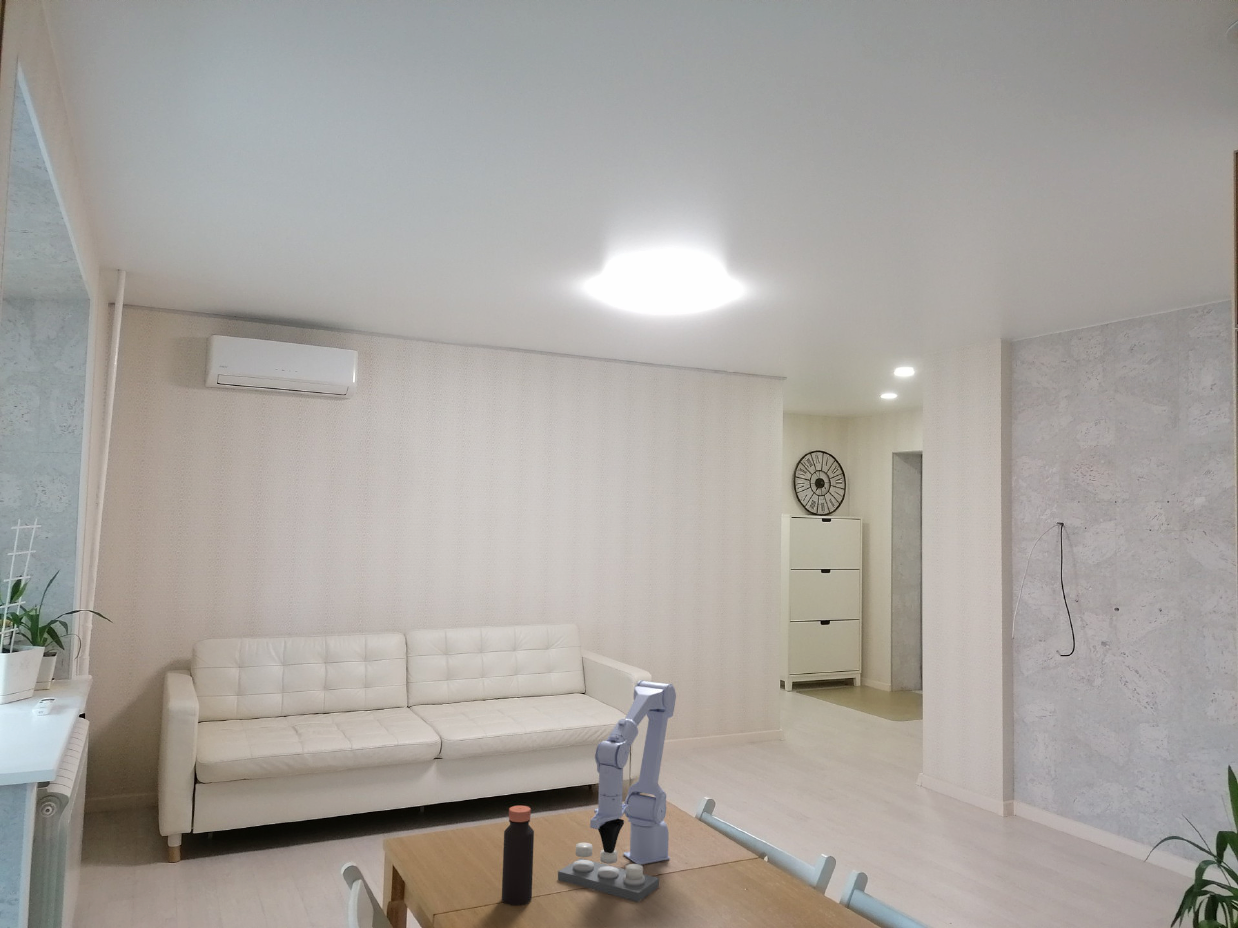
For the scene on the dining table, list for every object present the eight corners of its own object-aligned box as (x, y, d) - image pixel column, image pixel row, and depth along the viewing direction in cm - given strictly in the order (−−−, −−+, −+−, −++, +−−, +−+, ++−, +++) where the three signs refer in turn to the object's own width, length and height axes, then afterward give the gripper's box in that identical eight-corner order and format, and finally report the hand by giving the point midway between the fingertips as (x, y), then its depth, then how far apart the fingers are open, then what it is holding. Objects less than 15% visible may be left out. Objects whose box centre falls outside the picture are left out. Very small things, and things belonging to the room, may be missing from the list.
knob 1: (595, 853, 212) (595, 844, 212) (586, 858, 209) (586, 849, 209) (581, 849, 214) (581, 841, 215) (572, 854, 211) (572, 846, 211)
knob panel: (658, 886, 206) (659, 873, 207) (638, 901, 198) (638, 888, 198) (580, 866, 218) (580, 853, 218) (557, 879, 209) (558, 866, 209)
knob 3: (645, 874, 205) (645, 866, 205) (637, 880, 202) (637, 871, 202) (630, 871, 207) (631, 862, 207) (622, 876, 204) (622, 867, 204)
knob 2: (620, 859, 209) (620, 850, 209) (611, 864, 205) (611, 855, 206) (605, 855, 211) (606, 847, 211) (597, 860, 207) (597, 852, 208)
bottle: (517, 890, 202) (520, 802, 203) (538, 899, 198) (541, 808, 199) (495, 899, 197) (498, 808, 198) (516, 908, 193) (519, 815, 194)
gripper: (611, 782, 217) (610, 838, 216) (580, 797, 205) (578, 857, 204) (636, 787, 214) (635, 844, 213) (605, 802, 201) (604, 863, 200)
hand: (608, 851), depth 208 cm, fingers closed
